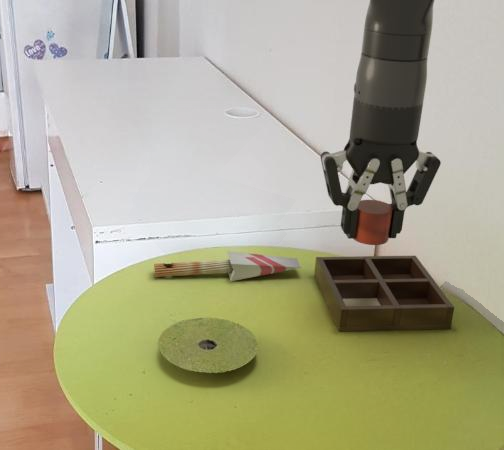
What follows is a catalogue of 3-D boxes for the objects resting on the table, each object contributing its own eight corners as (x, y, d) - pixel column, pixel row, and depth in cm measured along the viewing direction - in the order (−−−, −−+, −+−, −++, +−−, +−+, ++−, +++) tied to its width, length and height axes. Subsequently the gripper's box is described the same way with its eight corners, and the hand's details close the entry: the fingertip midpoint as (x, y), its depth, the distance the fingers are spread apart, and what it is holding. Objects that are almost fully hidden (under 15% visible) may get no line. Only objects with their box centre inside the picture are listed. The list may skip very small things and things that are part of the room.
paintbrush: (302, 260, 101) (154, 267, 100) (301, 277, 103) (154, 285, 101) (297, 247, 105) (153, 254, 104) (296, 264, 106) (154, 272, 105)
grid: (412, 275, 105) (415, 255, 104) (450, 329, 92) (454, 307, 91) (313, 276, 104) (315, 256, 103) (338, 331, 91) (341, 309, 90)
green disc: (163, 328, 91) (163, 314, 90) (256, 332, 90) (257, 318, 90) (152, 383, 81) (152, 368, 80) (257, 389, 80) (258, 374, 79)
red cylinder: (382, 229, 92) (386, 199, 91) (393, 245, 88) (397, 213, 87) (347, 229, 92) (350, 199, 90) (356, 245, 88) (360, 214, 86)
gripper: (333, 104, 79) (318, 250, 86) (464, 105, 80) (439, 249, 87) (317, 86, 86) (305, 223, 93) (438, 87, 87) (417, 222, 94)
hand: (370, 235), depth 90 cm, fingers closed on red cylinder, 4 cm apart
